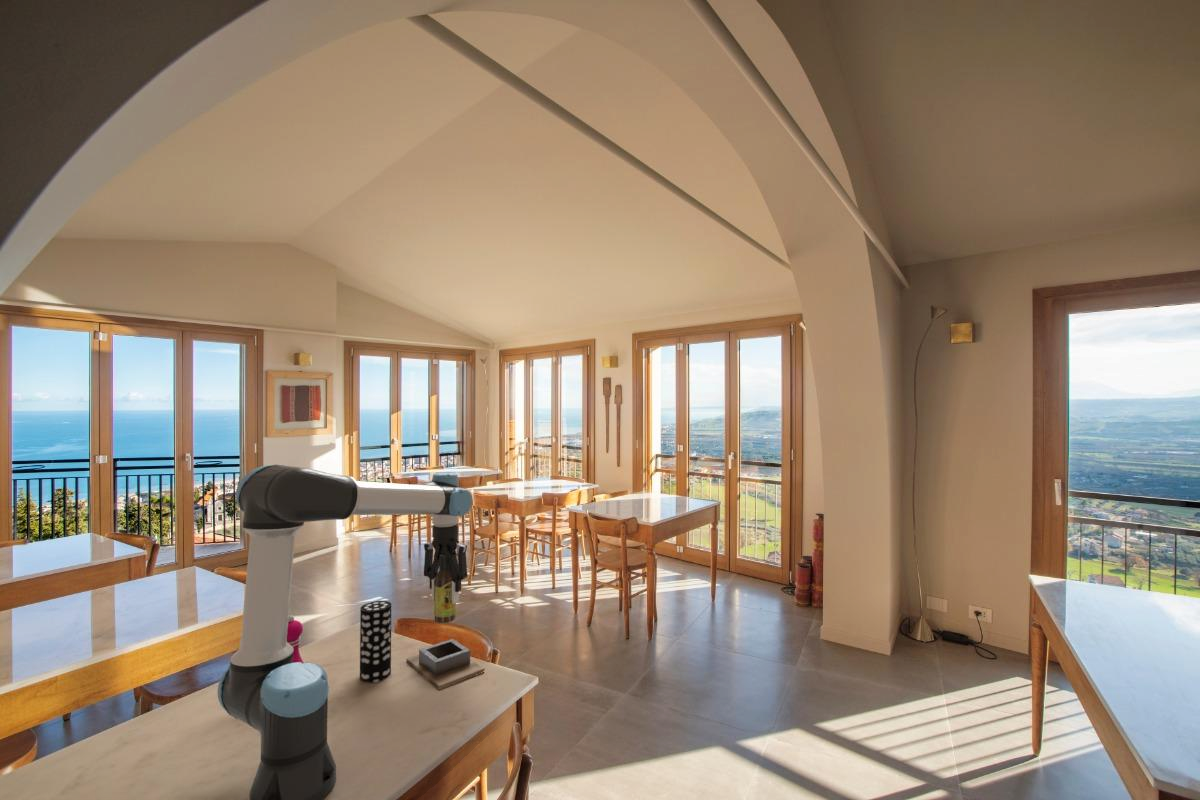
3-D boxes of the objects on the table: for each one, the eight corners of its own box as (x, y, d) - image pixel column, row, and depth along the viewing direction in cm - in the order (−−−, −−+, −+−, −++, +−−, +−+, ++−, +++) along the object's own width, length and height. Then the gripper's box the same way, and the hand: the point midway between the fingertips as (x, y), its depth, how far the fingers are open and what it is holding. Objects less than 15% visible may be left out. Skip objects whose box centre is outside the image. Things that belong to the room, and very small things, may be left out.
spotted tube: (359, 671, 153) (360, 603, 154) (390, 666, 157) (390, 599, 157) (359, 685, 146) (360, 613, 146) (391, 678, 149) (392, 608, 150)
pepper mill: (290, 696, 140) (291, 621, 140) (267, 693, 142) (268, 619, 142) (310, 683, 147) (311, 611, 148) (288, 680, 149) (289, 609, 149)
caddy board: (484, 672, 153) (484, 668, 153) (439, 689, 144) (439, 685, 144) (448, 647, 169) (448, 644, 169) (406, 661, 160) (406, 658, 160)
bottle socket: (470, 663, 156) (470, 650, 156) (435, 676, 149) (435, 662, 149) (452, 651, 164) (452, 638, 164) (418, 663, 157) (419, 649, 157)
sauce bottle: (446, 626, 153) (446, 557, 153) (429, 622, 155) (429, 555, 156) (460, 617, 159) (460, 552, 159) (444, 614, 161) (444, 550, 162)
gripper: (480, 523, 158) (480, 599, 158) (425, 519, 164) (425, 593, 163) (466, 528, 151) (466, 609, 151) (410, 524, 157) (410, 602, 156)
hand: (445, 600), depth 157 cm, fingers closed on sauce bottle, 6 cm apart
